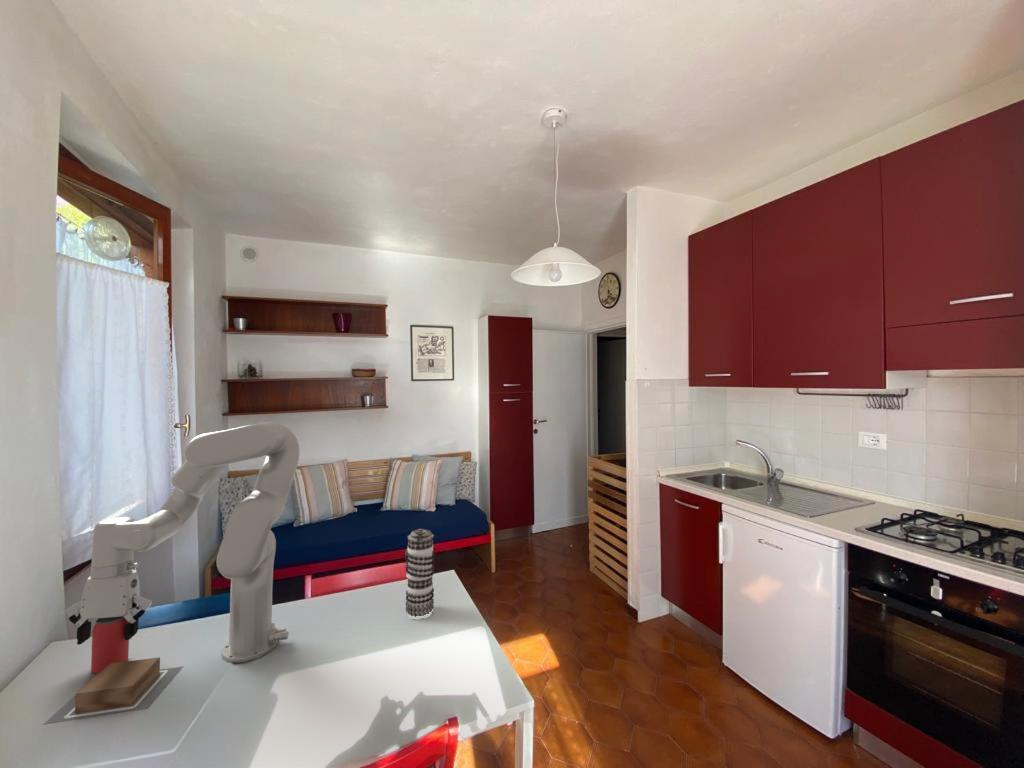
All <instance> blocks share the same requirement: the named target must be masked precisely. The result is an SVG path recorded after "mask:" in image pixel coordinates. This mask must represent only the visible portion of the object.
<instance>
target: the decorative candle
mask: <svg viewBox="0 0 1024 768" xmlns="http://www.w3.org/2000/svg"><path fill="white" fill-rule="evenodd" d="M434 537H435V535H434V534H433V533H432V532H431V530H430V529H428V528H427V529H426V528H418V529H414V530H412V531H411V533H410V534H408V535H407V548H406V550H404V552H405V553H404V555H405V556H404V557H405V558H404V559H405V560H406V562H405V572H406V573H405V574H406V575H405V576H406V579H407V585H406V591H405V595H406V596H405V600H406V601H405V613H406V612H407V613H408V614H409V615H411V616H415V617H416V616H424V615H426V614H429V612H431V611H432V609H433V610H434V608H435V607H434V603H435V602H434V601H435V600H434V597H435V595H434V592H435V588H434V583H433V576H434V575H435V568H436V567H435V565H433V564H435V563H436V560H435V557H436V554H435V553H434V552H433V551H435V550H436V547H434V544H433V543H434V540H433V539H434Z"/></svg>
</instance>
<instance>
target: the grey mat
mask: <svg viewBox="0 0 1024 768" xmlns="http://www.w3.org/2000/svg"><path fill="white" fill-rule="evenodd" d="M183 668H184V666H175V667H170V668H161V669H160V674H159V676H158V677H157V678H156V679H155V680H154V681H153V682H152V683H151V684H150V685H149V686H148V688H147V689H146V690H145V691H144V692H143V693H142V694H141V695H140V696H139V697H138V699H137V700H136V701H135V702H134V703H133V704H132V705H127V706H121V707H114V708H107V709H100V710H93V711H87V712H80V713H75V698H76V694H75V695H74V696H73V697H72V698H71V699H69V700H68V701H67V702H66V703H65V704H64V705H63V706H62V707H60V708H59V709H58V710H57V711H56V712H55V713H54V714H53V715H51V716H50V717H49V718H48V719H47V720H46V721H45V722H44V723H43V725H48V724H49V725H50V724H55V723H62V722H68V721H75V720H81V719H89V718H95V717H96V718H97V717H102V716H107V715H115V714H120V713H129V712H134V711H140V710H141V711H142V710H148V709H149V708H150V707H151V706H152V704H153V703H154V702H155V701H156V699H158V697H159V696H160V695H161V694H162V693H163V692H164V690H165V689H166V688H167V687H168V685H169V684H171V682H172V681H173V680H174V678H175V677H177V675H178V674H179V673H180V671H181V670H182V669H183Z"/></svg>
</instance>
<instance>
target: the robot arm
mask: <svg viewBox="0 0 1024 768" xmlns="http://www.w3.org/2000/svg"><path fill="white" fill-rule="evenodd" d="M263 456H264V460H263V463H262V465H261V467H260V468H259V469H260V470H259V472H258V474H257V478H256V481H255V484H254V486H253V489H252V491H251V493H250V494H249V495H247V496H246V497H245V498H243V499H242V500H240V501H239V503H238V504H237V505H236V506H235V508H234V509H233V511H232V512H231V515H230V517H229V520H228V523H227V526H226V527H225V532H224V534H223V538H222V541H221V543H220V546H219V547H218V548H219V549H218V552H217V556H216V567H217V571H218V572H219V574H221V576H223V578H226V579H228V580H230V595H229V599H230V600H229V601H230V602H229V635H228V637H229V638H228V642H227V644H225V645H224V646H223V648H222V650H221V659H222V660H224V661H226V662H227V663H228V662H229V663H232V664H237V663H244V662H249V661H253V660H255V659H258V658H261V657H262V656H264V655H266V654H268V653H269V652H271V651H272V650H273V649H275V647H276V646H277V644H278V641H284V640H288V638H289V630H287V627H281V628H277V627H276V622H273V584H274V580H273V579H274V564H275V557H276V549H277V540H276V537H275V533H274V532H273V531H272V530H271V529H272V526H273V524H274V523H276V522H277V521H278V519H280V518H281V516H282V515H283V512H284V511H285V509H286V504H287V500H288V497H289V494H290V491H291V488H292V485H293V480H294V478H295V474H296V471H297V468H298V463H299V459H300V445H299V442H298V438H297V436H296V434H294V432H293V431H292V430H291V429H290V428H289V427H287V426H286V425H285V424H282V423H280V422H278V421H277V422H276V421H266V422H265V421H264V422H263V421H262V422H259V423H253V424H249V425H243V426H239V427H235V428H229V429H226V430H219V431H211V432H206V433H202V434H199V435H196V436H195V437H194V438H192V439H191V440H190V441H189V442H188V443H187V445H186V447H185V450H184V457H185V461H184V462H183V464H181V466H180V467H179V468H178V469H177V470H176V472H175V473H174V474H173V475H172V476H171V481H170V482H171V484H172V486H173V487H174V488H173V491H172V493H171V495H170V496H169V497H168V498H167V500H166V501H165V502H164V503H163V505H162V506H161V507H160V508H159V509H158V511H156V512H155V513H153V514H151V515H149V516H146V517H144V518H141V519H138V520H135V519H134V518H133V517H131V516H115V517H109V518H105V519H102V520H100V521H98V522H97V523H96V524H95V525H94V528H93V538H92V550H91V551H92V552H91V567H90V576H89V577H87V580H86V581H85V585H84V588H83V592H82V597H81V600H80V601H79V602H77V603H74V604H72V605H71V606H68V607H67V608H65V610H64V611H65V614H66V615H67V617H68V621H70V622H71V623H72V624H73V625H74V628H76V640H77V641H76V644H77V645H82V644H84V642H86V641H87V640H89V639H90V638H91V636H92V634H91V632H92V621H91V620H97V619H100V618H112V617H122V616H123V617H124V618H125V619H126V620H127V621H128V622H129V623H127V624H126V632H125V640H129V641H130V640H131V639H132V638H133V637H134V636H135V635H137V633H138V631H139V619H140V618H141V617H142V616H143V615H144V614H146V613H148V610H149V608H150V606H151V605H152V603H153V600H151V599H148V598H146V597H144V596H141V595H140V581H139V576H138V571H137V569H138V567H139V565H140V564H139V562H135V558H134V555H135V554H134V552H144V551H145V552H146V551H148V550H151V549H153V548H155V547H157V546H158V545H160V544H162V543H163V542H164V541H166V540H168V539H169V538H172V537H173V536H175V535H176V534H177V533H178V532H179V531H180V530H181V529H182V528H183V527H184V526H185V525H186V523H187V522H188V521H189V520H190V518H191V517H192V516H193V515H194V514H195V512H196V511H197V509H198V508H199V506H200V504H201V503H202V501H203V499H204V497H205V495H206V494H207V493H206V492H207V491H209V489H210V488H211V486H212V485H213V484H214V483H215V481H216V480H217V479H218V478H219V477H220V475H221V474H222V473H223V471H224V470H226V468H227V467H228V465H230V464H235V463H239V462H243V461H249V460H253V459H257V458H261V457H263ZM139 606H141V607H140V610H139V609H137V607H139ZM79 608H80V610H79V611H80V612H78V609H79Z"/></svg>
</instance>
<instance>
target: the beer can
mask: <svg viewBox="0 0 1024 768" xmlns="http://www.w3.org/2000/svg"><path fill="white" fill-rule="evenodd" d="M127 623H129V622H128V621H127V620H126V619H125V618H124V617H123V616H122V617H112V618H100V619H96V620H95V624H94V626H93V629H92V630H91V632H92V634H91V636H92V638H91V659H90V661H91V665H90V671H91V672H92V673H94V674H99V673H100V672H101V671H102V670H103V669H104V668H105V667H107V666H108V665H109V664H111V663H119V662H126V661H129V653H130V652H129V648H130V639H129V640H125V632H126V624H127Z"/></svg>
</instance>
